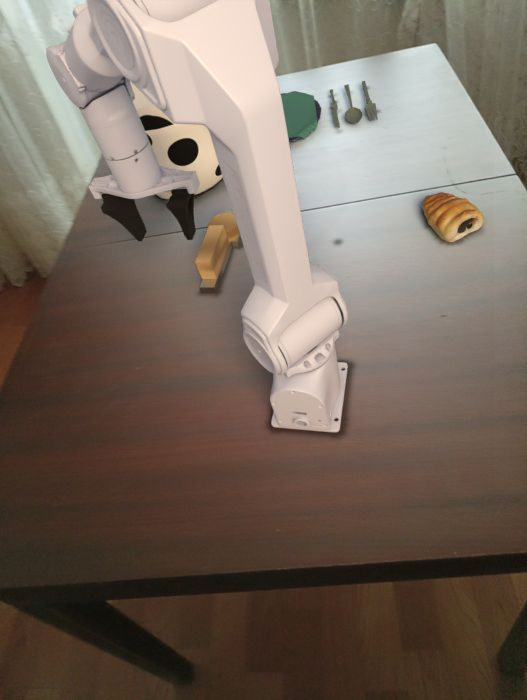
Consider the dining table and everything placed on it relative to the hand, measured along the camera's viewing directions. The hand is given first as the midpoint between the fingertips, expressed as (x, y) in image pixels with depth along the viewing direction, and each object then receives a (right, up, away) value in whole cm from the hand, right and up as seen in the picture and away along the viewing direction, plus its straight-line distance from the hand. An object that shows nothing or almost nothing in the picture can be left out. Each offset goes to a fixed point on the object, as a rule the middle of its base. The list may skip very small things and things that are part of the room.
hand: (166, 235), depth 70 cm
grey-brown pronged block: (+7, -1, +9) cm, 12 cm away
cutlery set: (+20, +29, +29) cm, 46 cm away
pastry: (+41, +2, +3) cm, 41 cm away
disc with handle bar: (+7, 0, +9) cm, 11 cm away
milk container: (0, +16, +25) cm, 30 cm away
